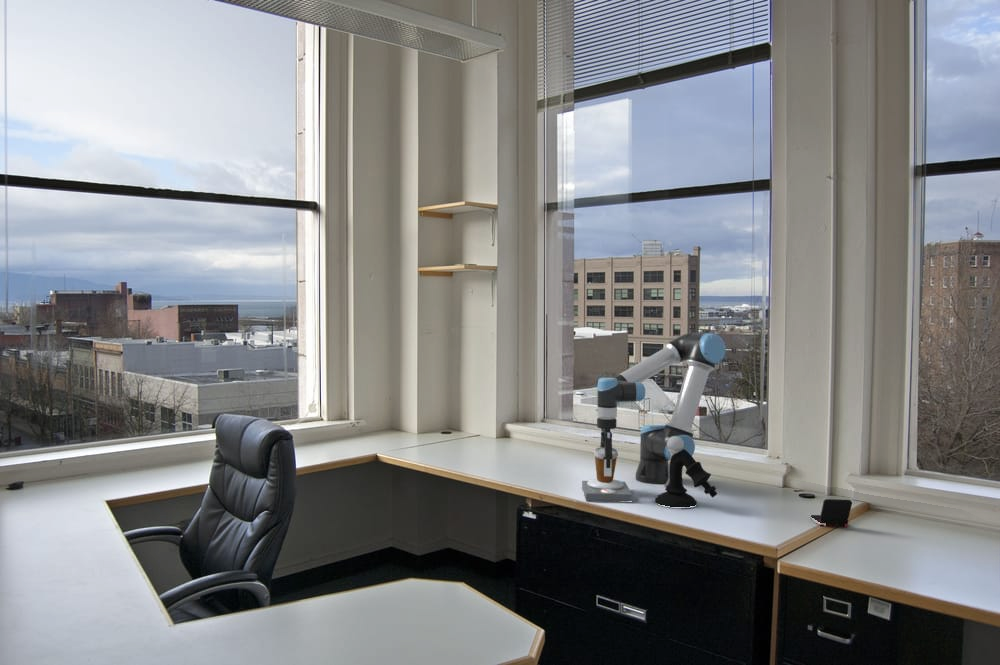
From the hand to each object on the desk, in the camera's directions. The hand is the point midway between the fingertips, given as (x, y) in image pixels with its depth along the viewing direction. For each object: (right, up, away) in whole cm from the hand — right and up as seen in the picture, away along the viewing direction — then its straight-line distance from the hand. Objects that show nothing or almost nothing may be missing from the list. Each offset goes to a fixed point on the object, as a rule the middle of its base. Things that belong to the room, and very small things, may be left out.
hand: (605, 472), depth 292 cm
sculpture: (+27, -10, -16) cm, 33 cm away
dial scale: (0, -8, -3) cm, 9 cm away
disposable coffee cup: (0, -4, +3) cm, 5 cm away
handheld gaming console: (+71, -11, -37) cm, 81 cm away
